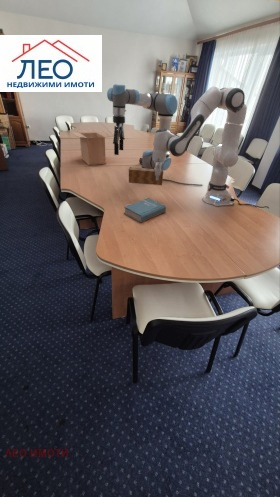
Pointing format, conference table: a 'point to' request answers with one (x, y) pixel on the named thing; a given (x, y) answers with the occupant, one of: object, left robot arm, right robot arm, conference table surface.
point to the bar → (144, 176)
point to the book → (144, 209)
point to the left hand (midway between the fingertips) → (118, 152)
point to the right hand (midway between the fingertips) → (157, 178)
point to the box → (92, 146)
